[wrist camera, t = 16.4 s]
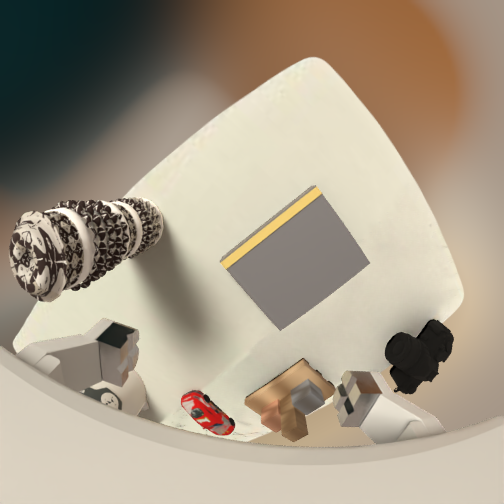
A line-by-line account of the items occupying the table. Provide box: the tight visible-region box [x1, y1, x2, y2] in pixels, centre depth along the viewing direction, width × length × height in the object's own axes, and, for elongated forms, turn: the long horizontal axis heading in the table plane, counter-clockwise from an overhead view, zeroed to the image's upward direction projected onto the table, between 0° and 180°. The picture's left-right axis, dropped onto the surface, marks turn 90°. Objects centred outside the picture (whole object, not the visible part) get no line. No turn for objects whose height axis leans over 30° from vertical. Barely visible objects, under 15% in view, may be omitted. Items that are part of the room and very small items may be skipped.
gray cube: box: [290, 379, 325, 415], centre depth 42 cm, size 4×4×4 cm
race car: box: [181, 390, 235, 435], centre depth 46 cm, size 13×5×4 cm, turn 35°
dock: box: [220, 185, 370, 331], centre depth 39 cm, size 17×14×3 cm
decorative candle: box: [9, 197, 164, 302], centre depth 28 cm, size 9×9×25 cm
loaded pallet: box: [245, 358, 336, 442], centre depth 41 cm, size 14×10×12 cm
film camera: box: [385, 319, 454, 394], centre depth 40 cm, size 15×10×9 cm, turn 148°
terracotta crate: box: [261, 399, 281, 432], centre depth 43 cm, size 4×4×4 cm
